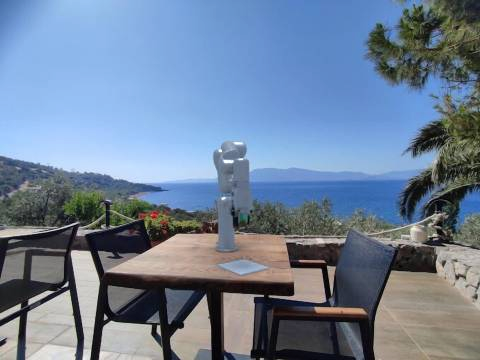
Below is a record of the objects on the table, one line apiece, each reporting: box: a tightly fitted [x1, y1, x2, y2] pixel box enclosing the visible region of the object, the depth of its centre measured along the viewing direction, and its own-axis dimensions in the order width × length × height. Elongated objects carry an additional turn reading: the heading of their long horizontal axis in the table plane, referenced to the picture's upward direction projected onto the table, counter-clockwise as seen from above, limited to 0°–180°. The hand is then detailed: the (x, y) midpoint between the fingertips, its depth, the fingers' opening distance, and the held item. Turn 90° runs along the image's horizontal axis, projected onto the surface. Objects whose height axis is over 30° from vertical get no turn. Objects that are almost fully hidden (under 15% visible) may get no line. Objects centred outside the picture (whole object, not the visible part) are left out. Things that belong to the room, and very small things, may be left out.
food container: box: [232, 208, 249, 232], centre depth 129 cm, size 12×6×10 cm, turn 20°
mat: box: [216, 259, 270, 277], centre depth 127 cm, size 18×16×1 cm
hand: (241, 224), depth 128 cm, fingers closed on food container, 5 cm apart
